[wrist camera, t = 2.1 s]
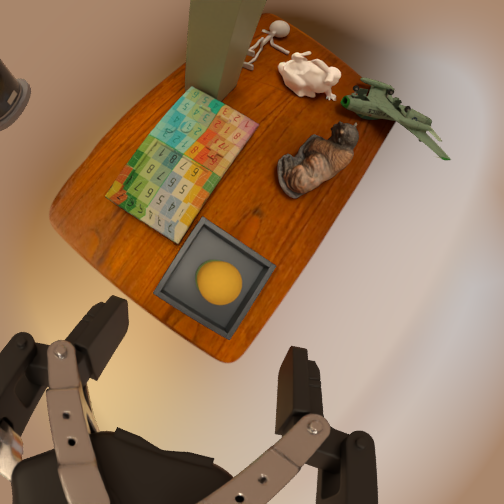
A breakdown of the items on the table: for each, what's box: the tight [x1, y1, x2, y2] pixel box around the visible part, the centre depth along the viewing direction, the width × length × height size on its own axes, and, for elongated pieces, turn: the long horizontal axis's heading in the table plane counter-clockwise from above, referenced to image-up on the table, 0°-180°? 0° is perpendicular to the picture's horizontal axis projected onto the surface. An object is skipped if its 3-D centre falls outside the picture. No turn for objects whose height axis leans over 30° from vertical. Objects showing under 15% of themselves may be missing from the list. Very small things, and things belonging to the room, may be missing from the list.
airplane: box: [341, 78, 450, 160], centre depth 44 cm, size 24×23×10 cm
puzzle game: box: [105, 86, 259, 244], centre depth 35 cm, size 12×5×20 cm
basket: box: [153, 216, 276, 340], centre depth 36 cm, size 11×11×4 cm
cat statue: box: [277, 121, 359, 198], centre depth 36 cm, size 12×7×10 cm, turn 135°
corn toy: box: [195, 260, 242, 305], centre depth 32 cm, size 5×5×11 cm
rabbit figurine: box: [278, 51, 341, 101], centre depth 37 cm, size 12×8×10 cm, turn 59°
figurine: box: [242, 21, 290, 70], centre depth 38 cm, size 6×6×15 cm
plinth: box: [185, 0, 267, 101], centre depth 24 cm, size 6×6×30 cm
